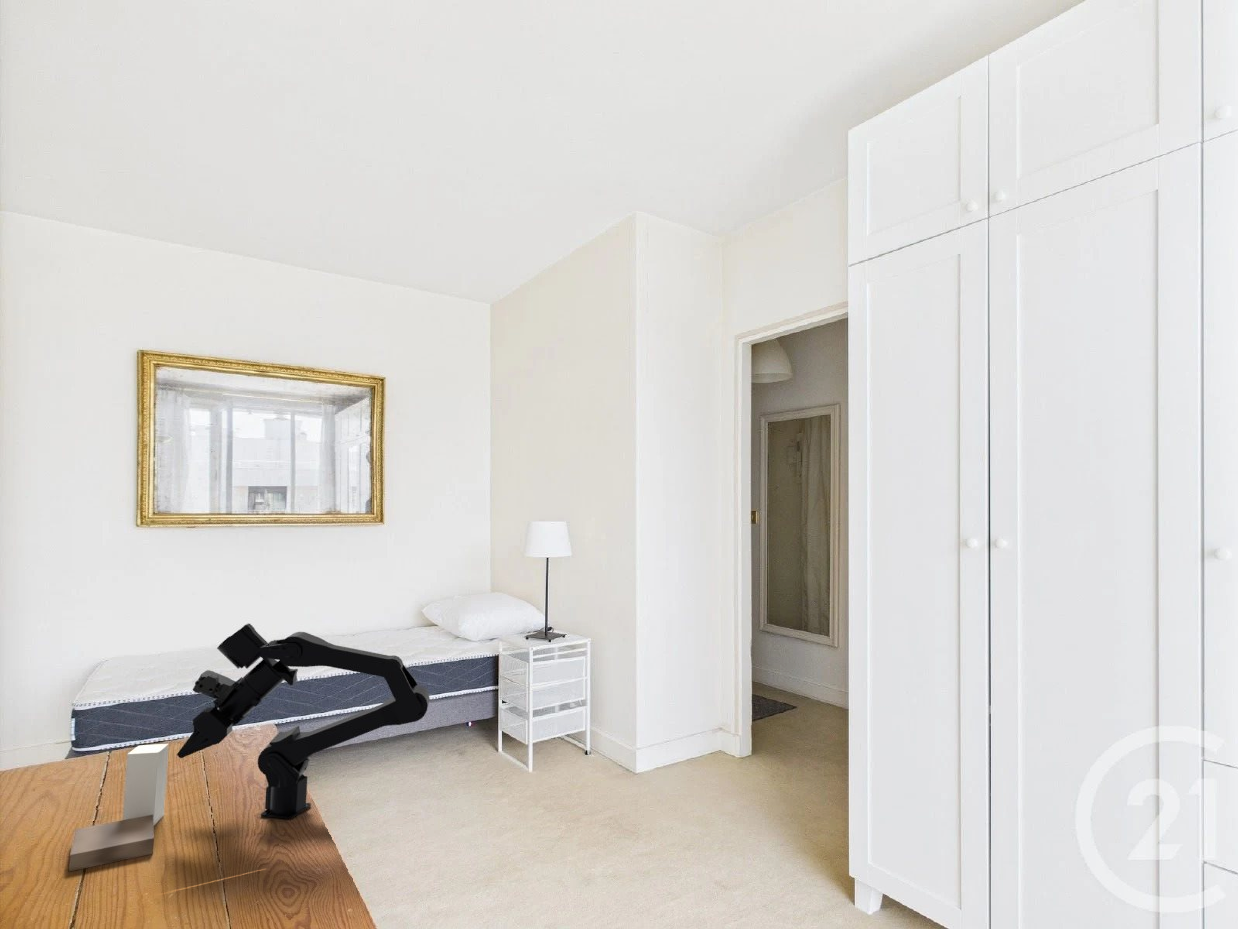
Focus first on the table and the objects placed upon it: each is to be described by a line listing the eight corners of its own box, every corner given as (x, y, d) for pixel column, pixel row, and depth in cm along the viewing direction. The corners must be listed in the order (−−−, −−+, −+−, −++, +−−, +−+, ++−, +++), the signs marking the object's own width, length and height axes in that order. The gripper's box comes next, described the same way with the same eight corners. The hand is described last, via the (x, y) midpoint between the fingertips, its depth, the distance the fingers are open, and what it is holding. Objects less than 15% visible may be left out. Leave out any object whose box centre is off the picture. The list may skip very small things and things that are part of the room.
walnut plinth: (151, 829, 124) (152, 814, 124) (152, 853, 115) (154, 838, 115) (74, 844, 118) (75, 829, 118) (68, 871, 109) (70, 855, 109)
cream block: (163, 815, 130) (168, 743, 131) (153, 826, 125) (158, 752, 126) (133, 817, 129) (138, 745, 130) (121, 829, 124) (127, 754, 125)
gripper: (238, 647, 141) (173, 705, 138) (209, 666, 123) (134, 733, 120) (278, 685, 143) (215, 744, 139) (255, 709, 125) (182, 777, 121)
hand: (187, 748), depth 130 cm, fingers open, 9 cm apart
